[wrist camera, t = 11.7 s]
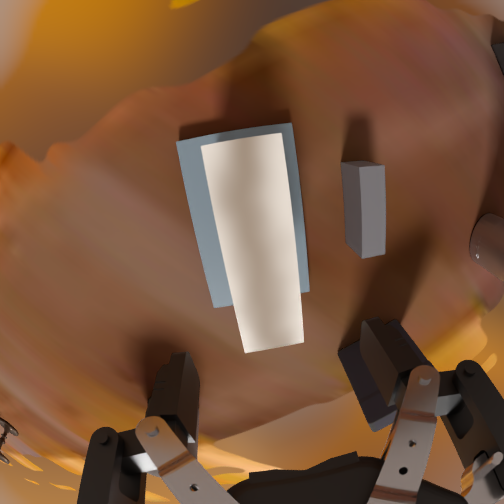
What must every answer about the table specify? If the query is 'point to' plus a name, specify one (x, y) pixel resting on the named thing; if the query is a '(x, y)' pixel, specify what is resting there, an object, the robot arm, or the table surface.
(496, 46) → the phone stand
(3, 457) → the candlestick
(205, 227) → the peg stand
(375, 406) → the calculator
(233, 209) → the shelf board
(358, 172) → the block
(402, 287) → the table surface
